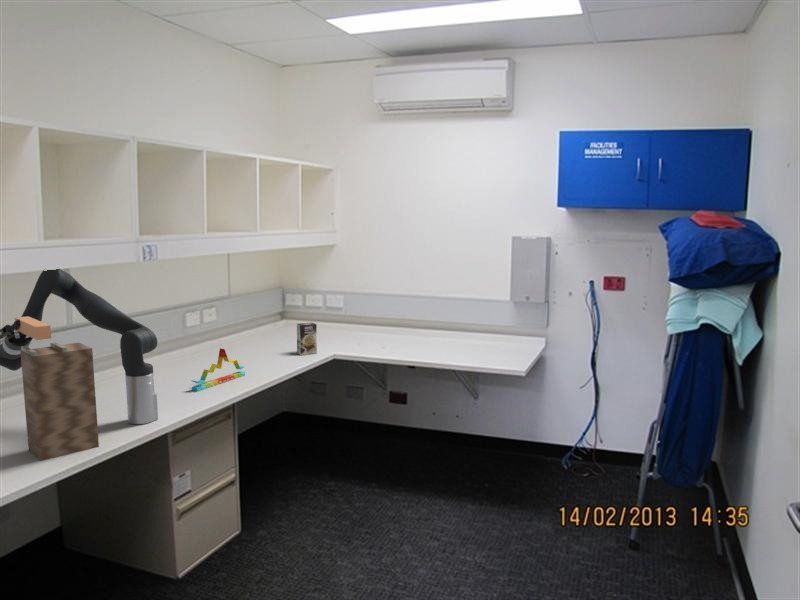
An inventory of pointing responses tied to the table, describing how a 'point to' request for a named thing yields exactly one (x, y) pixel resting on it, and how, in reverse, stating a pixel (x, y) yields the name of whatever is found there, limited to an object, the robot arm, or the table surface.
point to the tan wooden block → (34, 328)
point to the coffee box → (306, 338)
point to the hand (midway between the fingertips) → (27, 321)
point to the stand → (59, 399)
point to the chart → (220, 380)
